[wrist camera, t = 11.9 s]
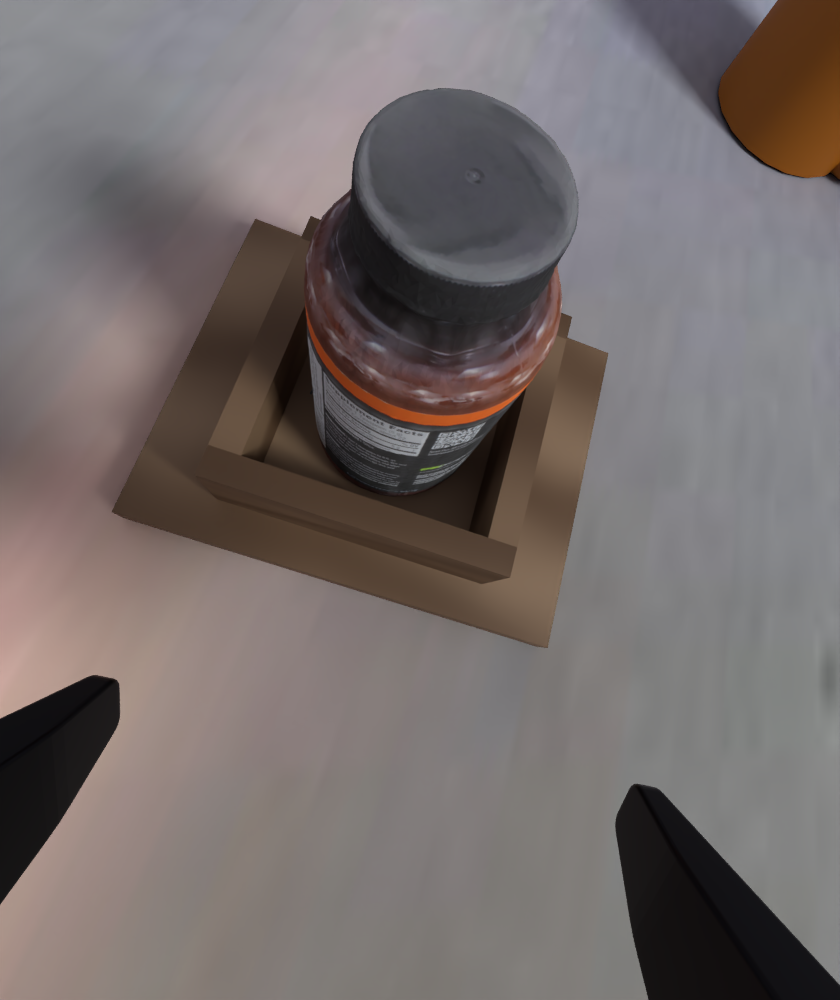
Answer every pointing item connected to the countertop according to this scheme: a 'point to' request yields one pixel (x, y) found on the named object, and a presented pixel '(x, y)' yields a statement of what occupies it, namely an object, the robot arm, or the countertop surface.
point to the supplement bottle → (434, 285)
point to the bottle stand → (337, 501)
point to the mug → (789, 89)
